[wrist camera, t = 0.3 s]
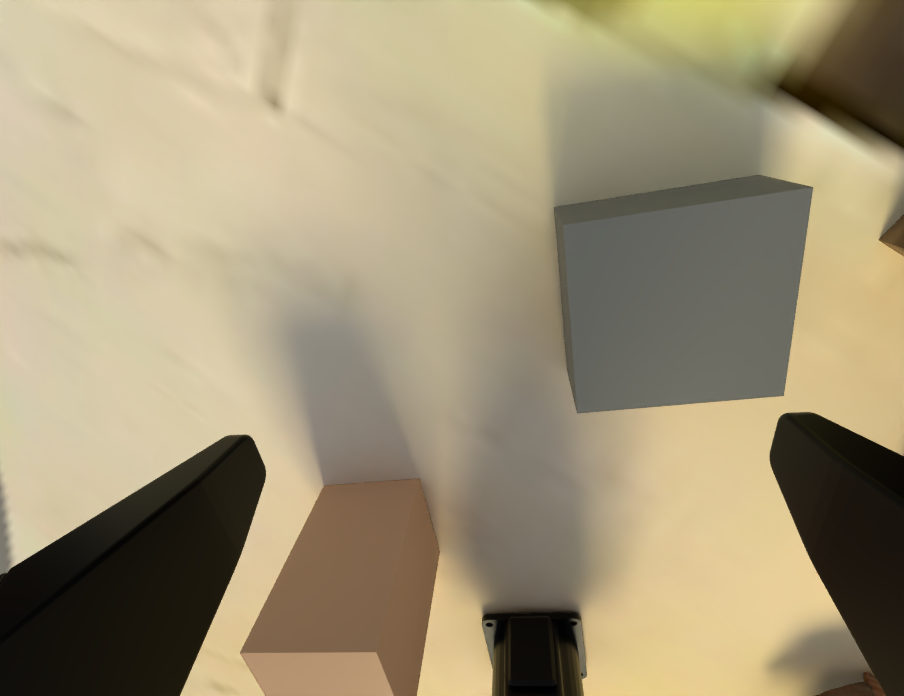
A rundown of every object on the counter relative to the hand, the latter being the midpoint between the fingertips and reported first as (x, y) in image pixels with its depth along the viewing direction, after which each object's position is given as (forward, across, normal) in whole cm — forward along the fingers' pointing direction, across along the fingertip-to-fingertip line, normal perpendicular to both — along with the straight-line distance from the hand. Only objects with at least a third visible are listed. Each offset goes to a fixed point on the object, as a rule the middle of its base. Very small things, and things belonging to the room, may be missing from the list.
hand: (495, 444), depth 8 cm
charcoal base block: (+14, -6, +3) cm, 16 cm away
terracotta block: (+13, +9, +17) cm, 23 cm away
